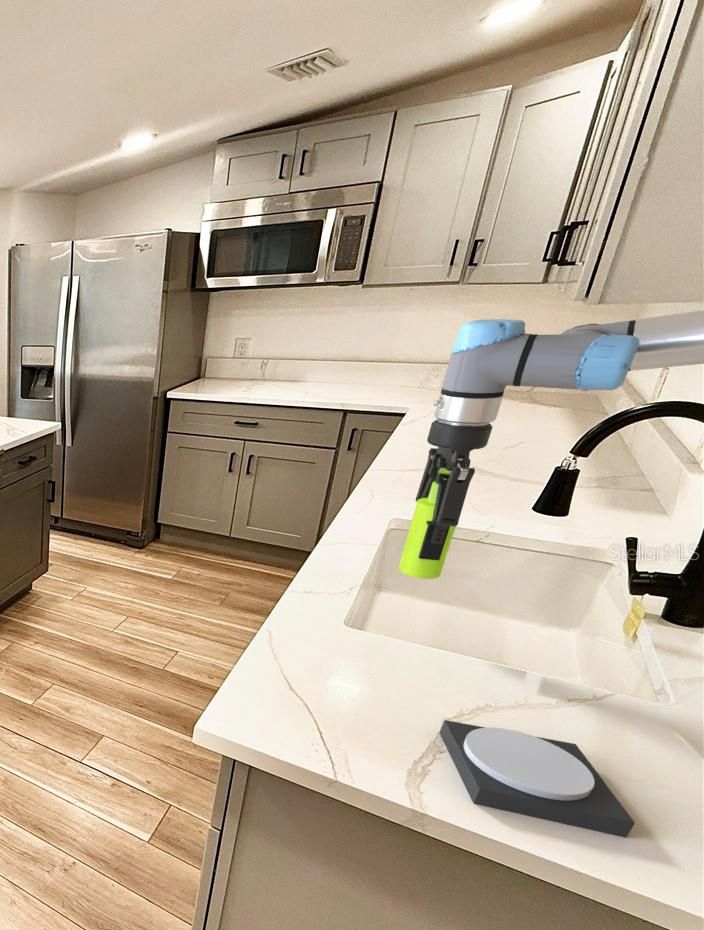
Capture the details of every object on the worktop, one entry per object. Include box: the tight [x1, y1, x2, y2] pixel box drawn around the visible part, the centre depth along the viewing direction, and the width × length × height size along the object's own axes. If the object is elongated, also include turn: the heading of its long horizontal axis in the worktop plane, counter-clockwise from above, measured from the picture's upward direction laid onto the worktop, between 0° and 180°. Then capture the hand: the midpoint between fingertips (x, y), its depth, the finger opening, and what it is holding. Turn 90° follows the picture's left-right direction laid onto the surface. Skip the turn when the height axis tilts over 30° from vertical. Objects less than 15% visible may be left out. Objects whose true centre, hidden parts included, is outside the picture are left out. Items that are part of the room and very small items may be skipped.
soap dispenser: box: [397, 468, 457, 580], centre depth 105 cm, size 6×7×20 cm
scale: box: [439, 719, 636, 838], centre depth 79 cm, size 14×14×3 cm
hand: (423, 551), depth 108 cm, fingers closed on soap dispenser, 6 cm apart
